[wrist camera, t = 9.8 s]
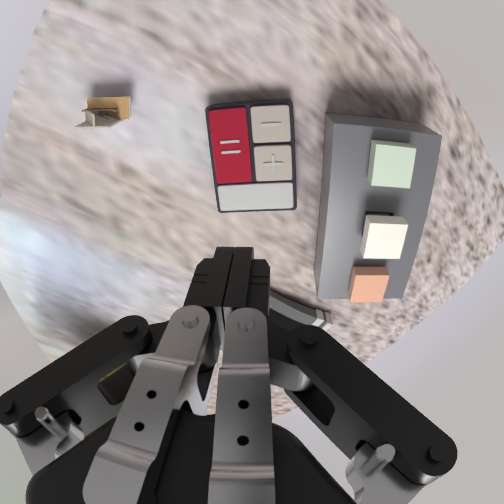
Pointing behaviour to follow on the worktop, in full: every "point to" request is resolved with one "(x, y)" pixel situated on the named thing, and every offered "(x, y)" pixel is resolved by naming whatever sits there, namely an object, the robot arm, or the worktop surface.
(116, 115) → the architectural model
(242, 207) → the calculator
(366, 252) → the cream key
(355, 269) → the terracotta key
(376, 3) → the worktop surface
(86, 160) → the worktop surface
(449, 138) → the worktop surface
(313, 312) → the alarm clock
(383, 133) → the key console
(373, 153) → the sage key
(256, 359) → the robot arm
